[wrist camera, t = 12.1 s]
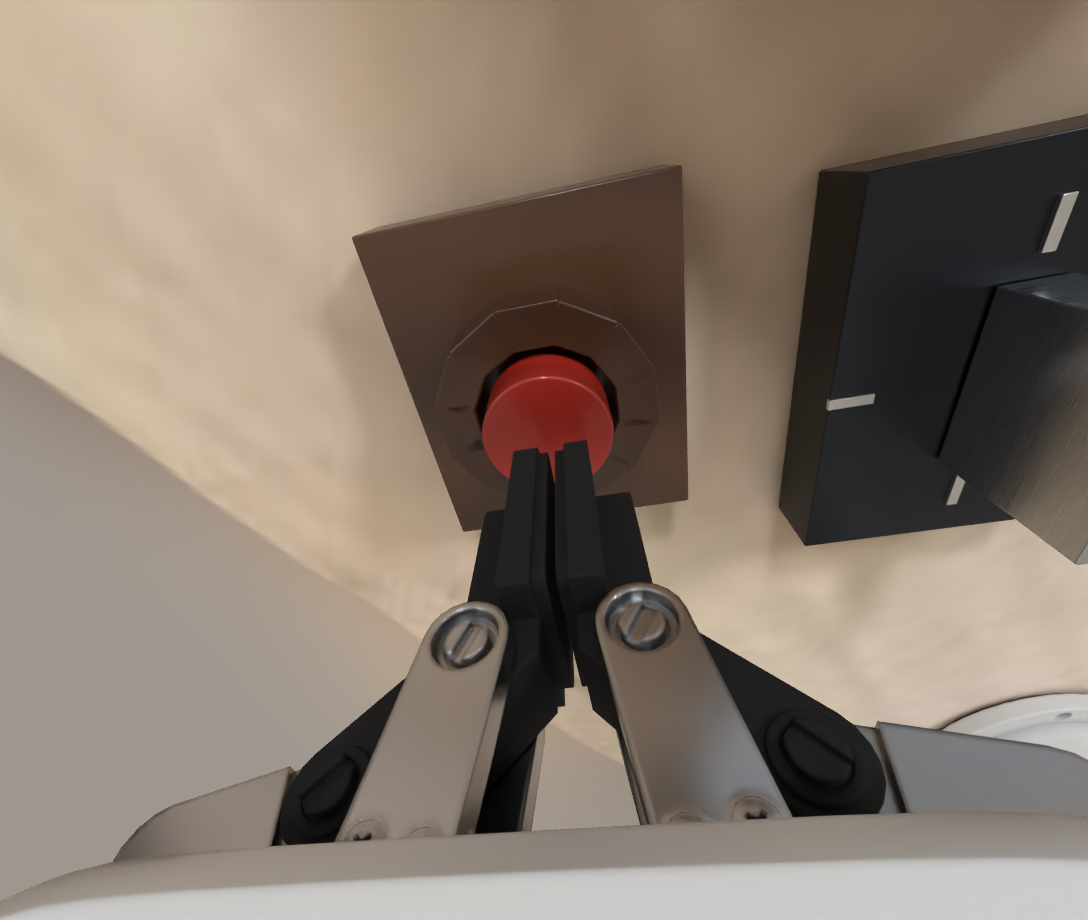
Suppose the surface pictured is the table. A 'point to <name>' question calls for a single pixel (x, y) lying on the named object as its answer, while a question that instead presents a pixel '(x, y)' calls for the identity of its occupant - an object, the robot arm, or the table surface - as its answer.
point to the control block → (544, 322)
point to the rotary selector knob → (1030, 411)
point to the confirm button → (546, 411)
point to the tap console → (916, 319)
